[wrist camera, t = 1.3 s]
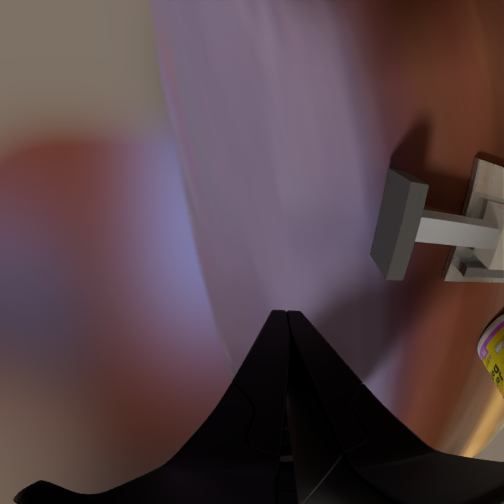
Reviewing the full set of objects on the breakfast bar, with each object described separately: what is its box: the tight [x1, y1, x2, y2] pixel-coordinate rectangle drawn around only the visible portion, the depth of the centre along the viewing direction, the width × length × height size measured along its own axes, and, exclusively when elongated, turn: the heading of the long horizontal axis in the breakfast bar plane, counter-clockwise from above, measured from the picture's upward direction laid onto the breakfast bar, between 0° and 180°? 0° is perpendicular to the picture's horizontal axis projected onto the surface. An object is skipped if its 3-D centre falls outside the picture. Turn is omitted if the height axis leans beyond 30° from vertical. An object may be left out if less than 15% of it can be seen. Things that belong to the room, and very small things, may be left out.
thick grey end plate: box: [370, 168, 504, 281], centre depth 17 cm, size 8×13×3 cm, turn 86°
